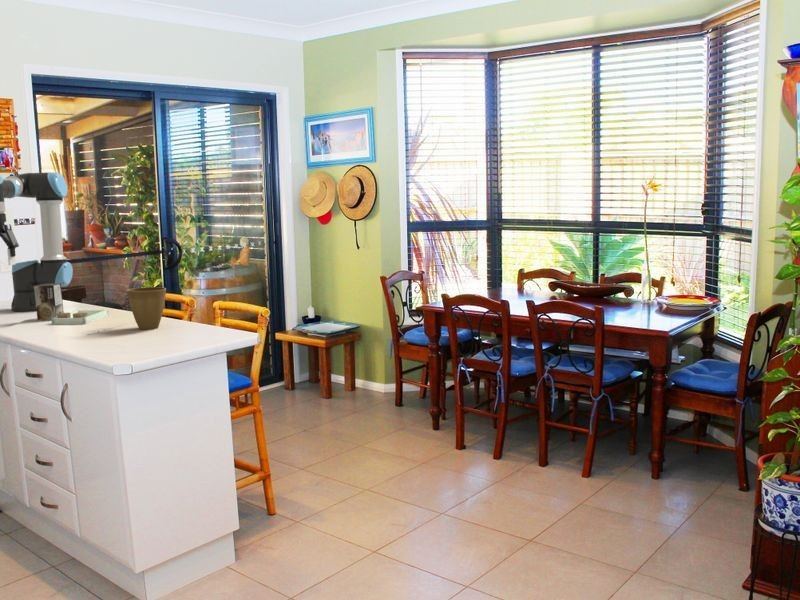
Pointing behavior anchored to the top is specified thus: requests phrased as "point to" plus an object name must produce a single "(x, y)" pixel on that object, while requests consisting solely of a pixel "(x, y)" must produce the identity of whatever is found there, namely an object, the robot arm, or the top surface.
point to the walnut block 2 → (80, 315)
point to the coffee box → (48, 301)
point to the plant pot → (147, 305)
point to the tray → (91, 317)
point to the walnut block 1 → (63, 315)
